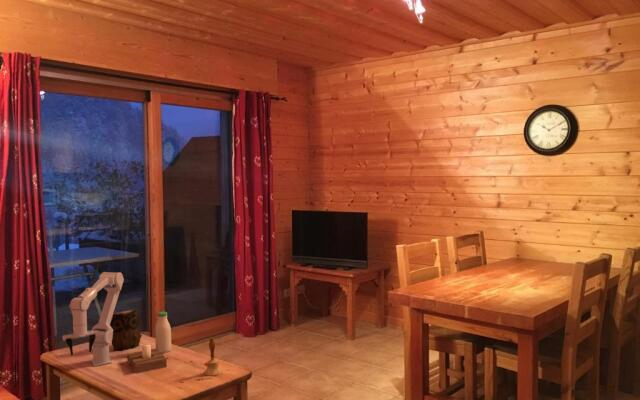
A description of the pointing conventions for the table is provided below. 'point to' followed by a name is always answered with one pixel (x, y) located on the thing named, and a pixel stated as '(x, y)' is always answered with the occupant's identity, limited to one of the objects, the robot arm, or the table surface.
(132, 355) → the walnut holder
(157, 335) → the milk bottle
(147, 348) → the cream peg
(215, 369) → the hand bell
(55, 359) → the table surface
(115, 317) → the owl
